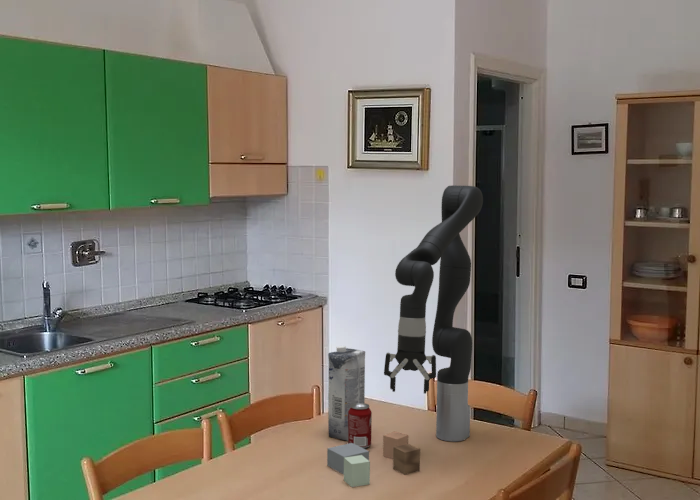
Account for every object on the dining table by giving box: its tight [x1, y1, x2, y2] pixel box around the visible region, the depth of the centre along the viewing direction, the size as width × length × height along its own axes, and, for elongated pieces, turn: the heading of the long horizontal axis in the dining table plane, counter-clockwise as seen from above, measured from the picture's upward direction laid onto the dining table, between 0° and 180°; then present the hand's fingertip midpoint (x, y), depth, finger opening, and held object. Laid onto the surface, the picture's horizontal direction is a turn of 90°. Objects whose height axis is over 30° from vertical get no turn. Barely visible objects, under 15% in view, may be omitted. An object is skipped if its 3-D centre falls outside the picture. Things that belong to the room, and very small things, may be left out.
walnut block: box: [392, 443, 421, 476], centre depth 208 cm, size 5×5×6 cm
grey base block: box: [326, 443, 370, 476], centre depth 210 cm, size 8×8×5 cm
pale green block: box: [343, 455, 371, 488], centre depth 200 cm, size 5×5×6 cm
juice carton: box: [327, 345, 366, 442], centre depth 235 cm, size 9×10×27 cm
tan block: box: [382, 431, 410, 460], centre depth 219 cm, size 5×5×6 cm
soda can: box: [347, 402, 373, 449], centre depth 226 cm, size 7×7×12 cm
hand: (409, 392), depth 216 cm, fingers open, 8 cm apart
